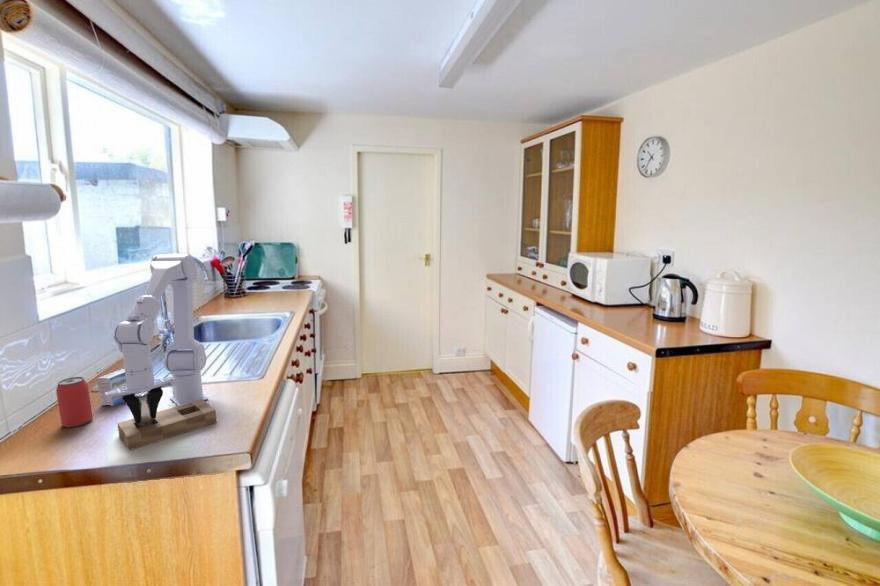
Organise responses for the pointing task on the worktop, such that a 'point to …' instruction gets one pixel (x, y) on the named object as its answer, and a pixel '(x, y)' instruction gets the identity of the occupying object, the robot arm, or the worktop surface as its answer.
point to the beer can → (74, 401)
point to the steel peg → (144, 410)
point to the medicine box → (111, 385)
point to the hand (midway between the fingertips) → (145, 419)
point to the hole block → (167, 424)
